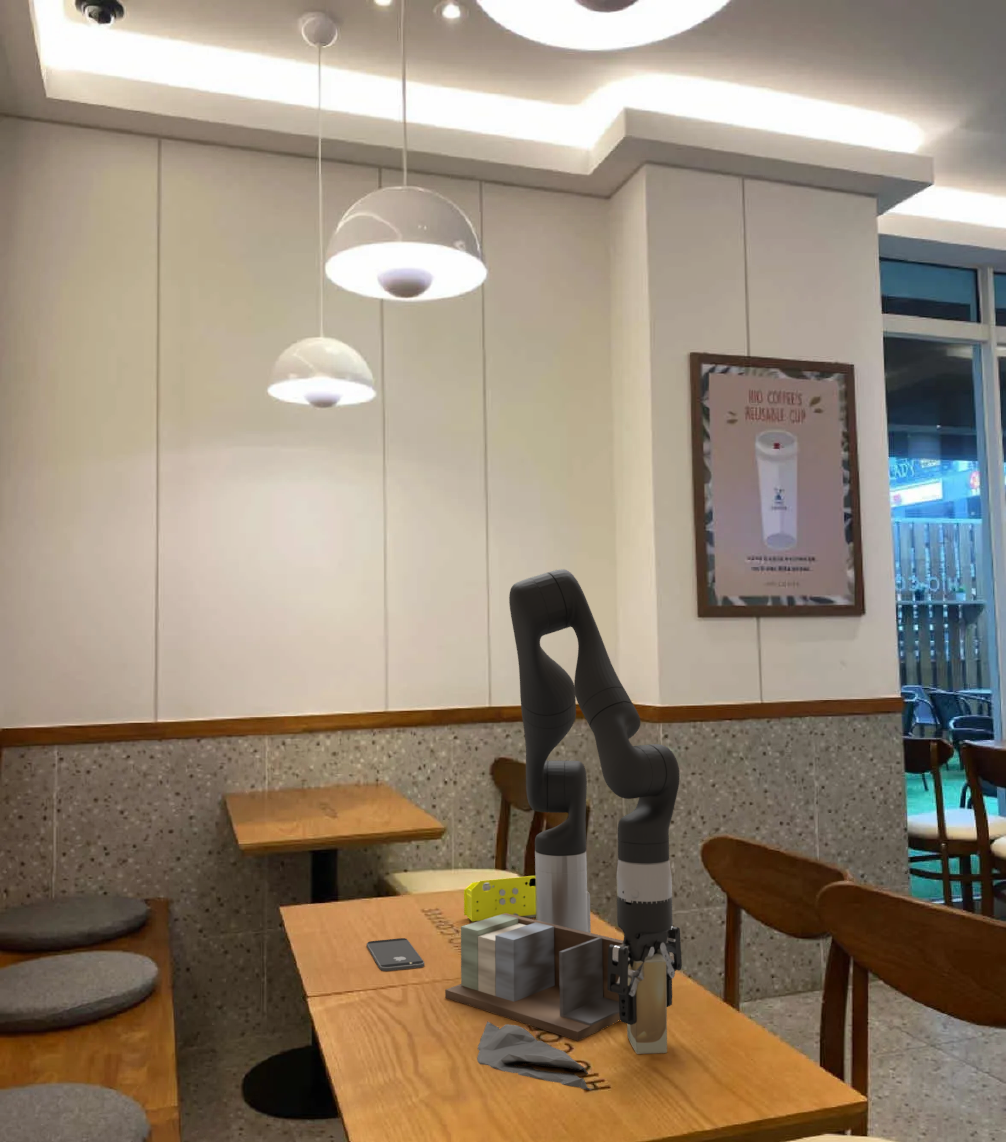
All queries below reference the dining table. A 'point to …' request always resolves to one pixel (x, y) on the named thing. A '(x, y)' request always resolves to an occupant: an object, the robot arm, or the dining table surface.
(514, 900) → the yellow toy chassis
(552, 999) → the book shelf
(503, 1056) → the cloth
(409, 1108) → the dining table surface
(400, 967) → the phone
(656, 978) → the skincare box
